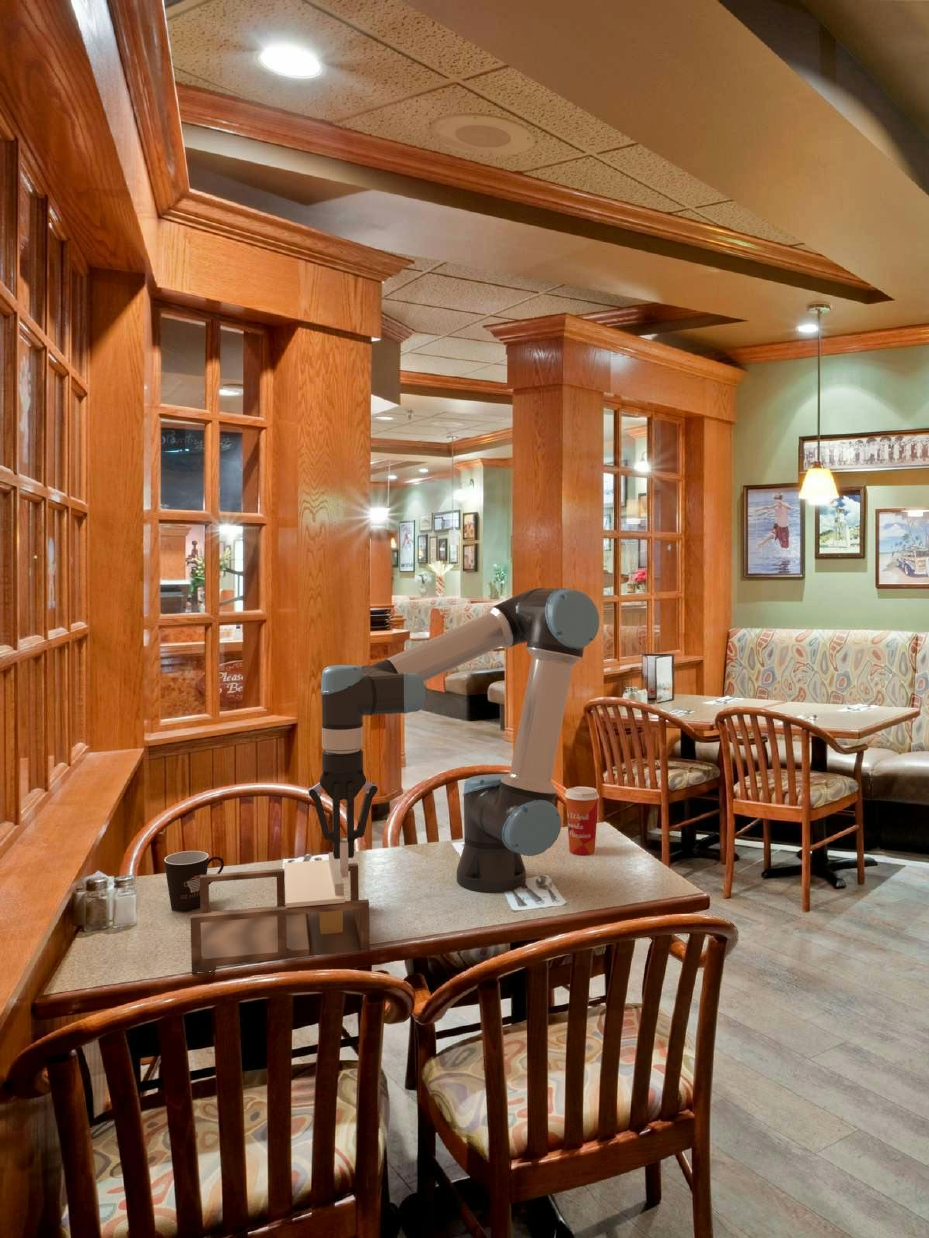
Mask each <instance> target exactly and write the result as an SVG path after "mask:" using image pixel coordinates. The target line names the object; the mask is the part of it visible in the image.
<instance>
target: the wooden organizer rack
mask: <svg viewBox="0 0 929 1238" xmlns="http://www.w3.org/2000/svg"><path fill="white" fill-rule="evenodd" d="M348 872H349V878H350V879H349V885H350V886H349V889H350V894H349V895H350V896H349V898H350V900H345V903H336V904H324V905H313V906H301V907H290V908H286V895H285V872H284V868H276V869H266V870H265V869H263V870H252V871H251V870H248V871H236V872H221V873H220V874H217V873H213V874H210V873H209V874H208V873H207V875H200V906H201V908H200V913H194V914H192V913H191V914H190V917H189V919H190V920H189V921H190V953H191V961H190V962H191V963H190V964H191V974H192V975H194V974H193V973H197V972H209V971H215V972H216V969H217V966H221V965H223V966H224V965H232V964H240V963H241V964H242V963H253V962H262V961H263V962H264V961H271V960H272V961H273V960H282V959H291V958H292V959H294V958H302V957H305V958H306V957H315V956H323V955H333V954H335V955H336V954H346V953H355V952H363V951H365V952H366V951H370V949H371V947H370V946H371V944H370V943H371V940H370V939H371V938H370V937H371V936H370V932H371V931H370V902H369V901H370V900H369V898H367V899H360V898H359V897H360V893H359V889H360V888H359V887H360V886H359V863H358V862H353V863H348ZM267 878H276V905H274V906H272V905H271V906H261V907H251V908H240V909H238V908H237V909H226V910H215V911H210V885H209V882H212V883H218V882H230V881H240V880H242V881H243V880H252V879H253V880H255V879H267ZM340 910H343V932H340V933H329V934H321V931H320V912H329V911H340ZM209 973H210V972H209Z"/></svg>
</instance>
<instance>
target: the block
mask: <svg viewBox="0 0 929 1238" xmlns="http://www.w3.org/2000/svg"><path fill="white" fill-rule="evenodd" d="M320 931H321V934H329V933H340V932H343V910H340V911H329V912H320Z"/></svg>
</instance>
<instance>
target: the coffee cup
mask: <svg viewBox="0 0 929 1238" xmlns="http://www.w3.org/2000/svg"><path fill="white" fill-rule="evenodd" d="M565 792H566V793H564V797H565V800H566V815H567V817H566V818H567V819H566V820H567V831H568V832H567V834H568V835H567V837H568V847H569V848H568V849H569V852H570V854H572V855H575V856H582V857H585V856H591V855H594V854H595V850H596V839H597V837H596V836H597V821H598V820H597V818H598V807H599V806H598V803H599V802H598V801H599V799H600V794H599V793H598V789H597V788H595V787H589V786H574V787H569V788H567V789H566V791H565Z"/></svg>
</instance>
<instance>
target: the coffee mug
mask: <svg viewBox="0 0 929 1238" xmlns="http://www.w3.org/2000/svg"><path fill="white" fill-rule="evenodd" d="M209 856H210V855H209V854H208V853H207V852H205V851H201V850H186V851H179V852H175V853H172V854H169V855H167V856H165V857H164V859H163V863H164V868H165V869H164V870H165V874H166V875H165V876H166V882H167V889H168V895H169V903H170V909H171V911H174V912H178V913H189V912H193V911H194V912H195V911H198V910H201V906H200V875H208V867H209V865H210V864H211V862H213V861H215V860H217V861H219V862H220V868H219V870H218V871H217V872H216V874H221V873H222V871H223V870H224V867H225V862H224V860H223V858H221V857H220V856H212V857H210V858H209ZM211 883H213V882H209V886H210V885H211Z"/></svg>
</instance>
